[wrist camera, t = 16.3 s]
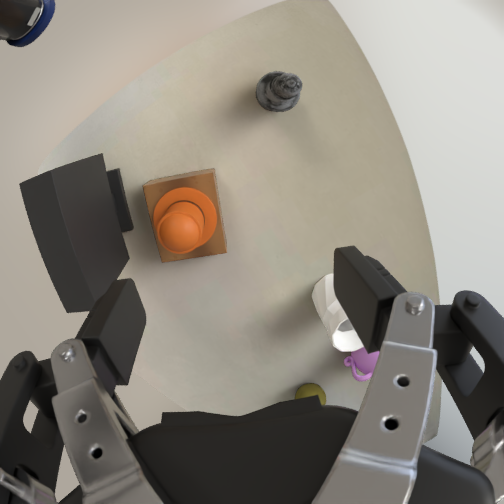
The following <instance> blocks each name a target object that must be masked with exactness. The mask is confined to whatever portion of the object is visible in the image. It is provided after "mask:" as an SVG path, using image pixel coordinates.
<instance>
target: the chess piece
mask: <svg viewBox="0 0 504 504" xmlns="http://www.w3.org/2000/svg"><path fill="white" fill-rule="evenodd" d="M301 89H302V82H301V79H300V78H299V77H298V76H297V75H295V74H292V73H285V72H280V71H274V72H270V73H268V74H266V75H264V76H263V77H262V78H261V79H260V81H259V82H258V84H257V89H256V98H257V100H258V102H259V104H260V105H261V106H262V107H263V108H265V109H267V110H270V111H275V112H284V111H287V110H290V109H291V108H293V107H294V106H295V105H296V104H297V102H298V100H299V98H300V91H301Z"/></svg>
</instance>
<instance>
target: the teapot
mask: <svg viewBox="0 0 504 504" xmlns="http://www.w3.org/2000/svg"><path fill="white" fill-rule="evenodd" d="M379 353H380V352H379V351H377V352H373V353H370V354H368V353H367V351H366V349H365V348H364V347H362V348H360V349H358V350H356V351H351V356H348V357H346V358H345V359H344V365H345V366H347V367H349V366H351V365H352V374H353V377H354V378H355V379H356V380H357V381H366V380H368V379H370V378H371V377H372V374H373V371H374V368H375V365H376V362H377V359H378V356H379ZM349 361H350V363H348V362H349ZM356 367H357V368H358V369H359V370H360V371H361V372H362V373H364V374H366V375H364V376H359V375H357V373H356Z"/></svg>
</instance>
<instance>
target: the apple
mask: <svg viewBox="0 0 504 504" xmlns="http://www.w3.org/2000/svg"><path fill="white" fill-rule="evenodd" d="M314 395H318V396H319V399H320V402H321V405H325V403H326V395H325V392H324V391H323V389H322V388H321V387H320V386H319V385H317V384H314V383H310V384H305V385H303V386H301V387H300V388H299V389H298V390H297V392H296V395H295V399H300V398H305V397H309V396H314Z"/></svg>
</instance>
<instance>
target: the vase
mask: <svg viewBox="0 0 504 504" xmlns="http://www.w3.org/2000/svg"><path fill="white" fill-rule="evenodd" d="M333 276H334V273H332V274H328V275H325V276H324V277H323V278H322V279H320V280H319V281H318V282H317V283H316V284H315V286H314V289H313V292H312V295H311V296H312V299H313V302H314V304H315V307H316V310H317V312H318V314H319V316H320V319H321V321H322V323H323V324H324V326H325V328H326V330H327V333H328V336H329V338H330V340H331V343H332V345H333V346H334V347H335V348H337V349H338V350H340V351H341V352H349V351H356V350H358V349H360V348H362V347H364V346H363V344H362V342H361V340H360V338H359V337H358V335H357V333H356V331H355V329H354V328H353V326H352V324H351V322H350V321H349V319H348V317H347V315H346V314H345V312H344V310H343V308H342V307H341V305H340V303H339V301H338V300H337V298H336V296H335V292H334V287H333Z"/></svg>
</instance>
